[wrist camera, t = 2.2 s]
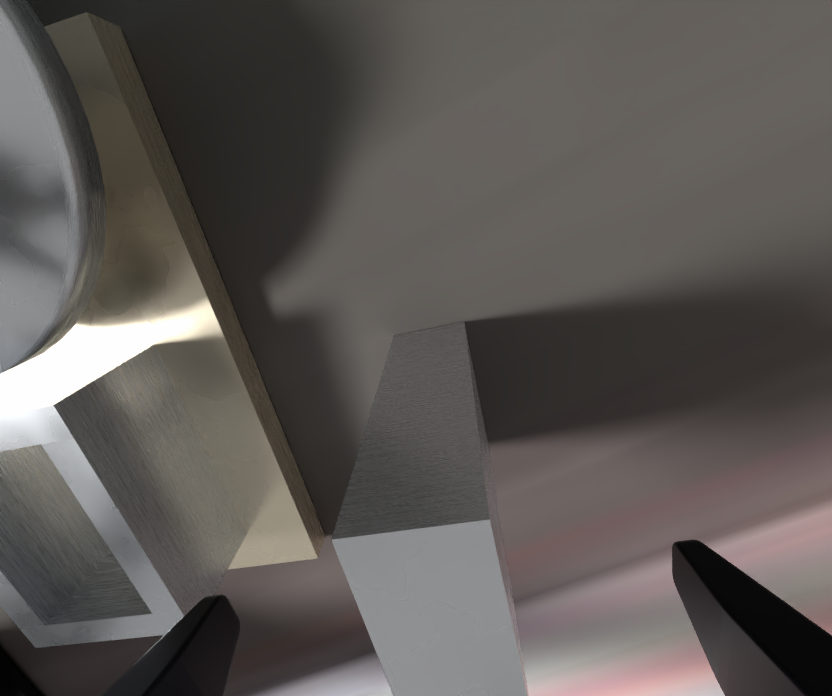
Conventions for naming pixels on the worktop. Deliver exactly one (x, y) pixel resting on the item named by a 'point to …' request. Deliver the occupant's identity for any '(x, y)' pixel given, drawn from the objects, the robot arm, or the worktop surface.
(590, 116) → the worktop surface
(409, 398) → the grey rectangular block
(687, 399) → the worktop surface
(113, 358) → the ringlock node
